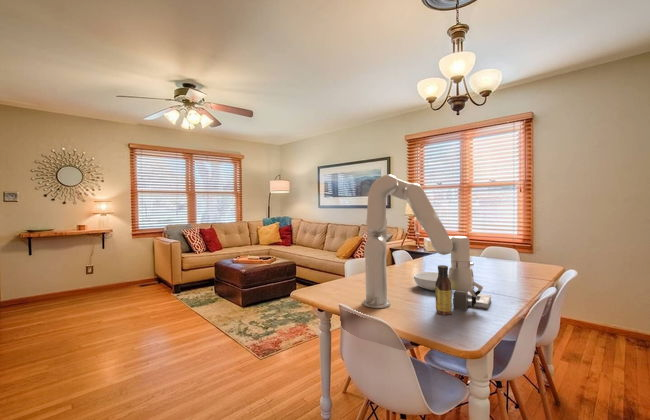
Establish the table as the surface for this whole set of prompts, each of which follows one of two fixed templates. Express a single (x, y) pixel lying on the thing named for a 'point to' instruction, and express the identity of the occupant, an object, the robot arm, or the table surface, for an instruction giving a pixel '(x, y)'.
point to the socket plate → (479, 301)
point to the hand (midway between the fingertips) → (461, 303)
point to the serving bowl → (426, 280)
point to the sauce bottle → (443, 291)
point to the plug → (460, 300)
